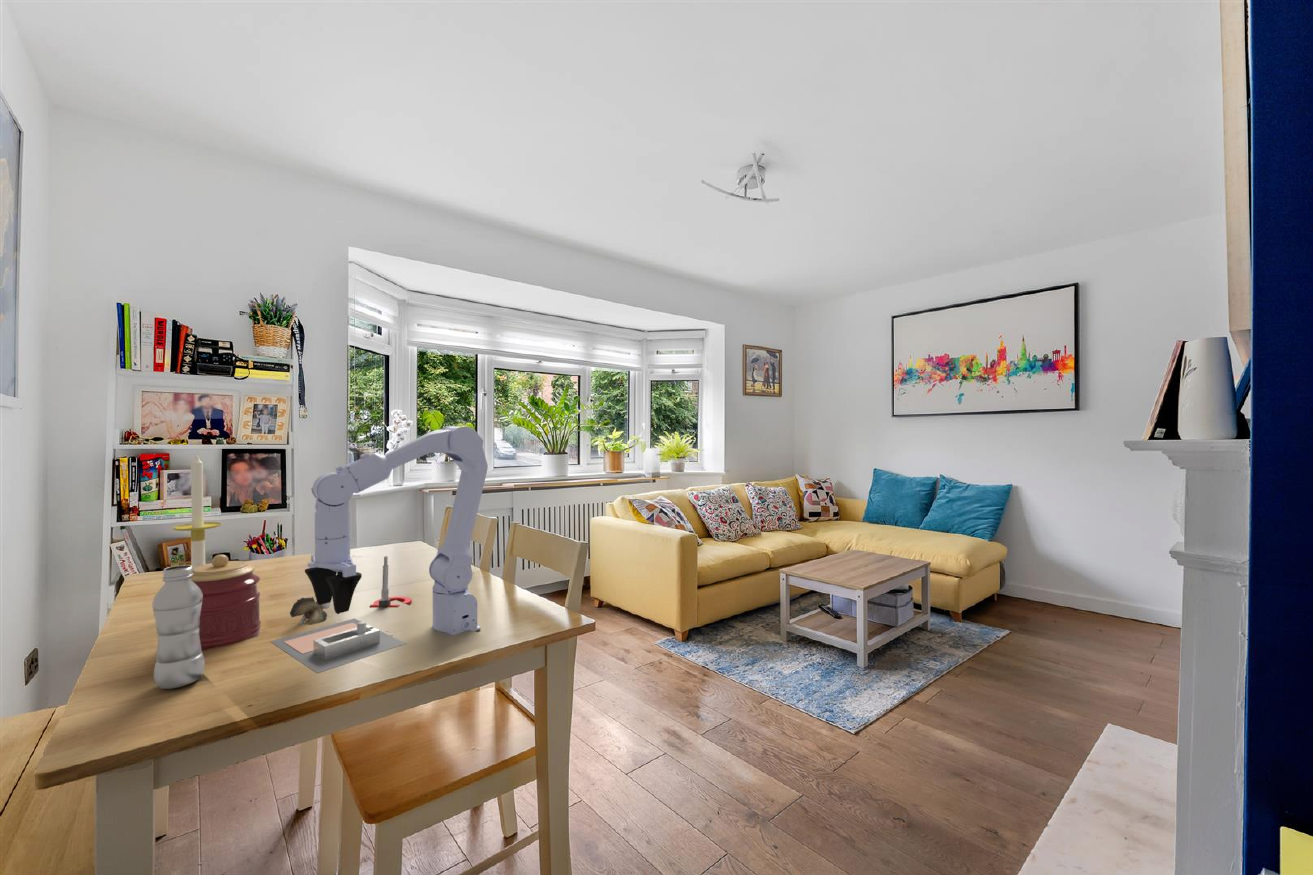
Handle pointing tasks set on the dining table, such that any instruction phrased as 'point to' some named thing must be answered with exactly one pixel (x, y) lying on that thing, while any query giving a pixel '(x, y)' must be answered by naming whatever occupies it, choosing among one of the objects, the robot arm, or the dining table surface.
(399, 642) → the post board
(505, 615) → the dining table surface
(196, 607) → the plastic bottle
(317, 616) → the eagle figurine
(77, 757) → the dining table surface
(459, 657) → the dining table surface
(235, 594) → the canister
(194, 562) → the candle
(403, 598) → the tow hook
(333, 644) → the c link
